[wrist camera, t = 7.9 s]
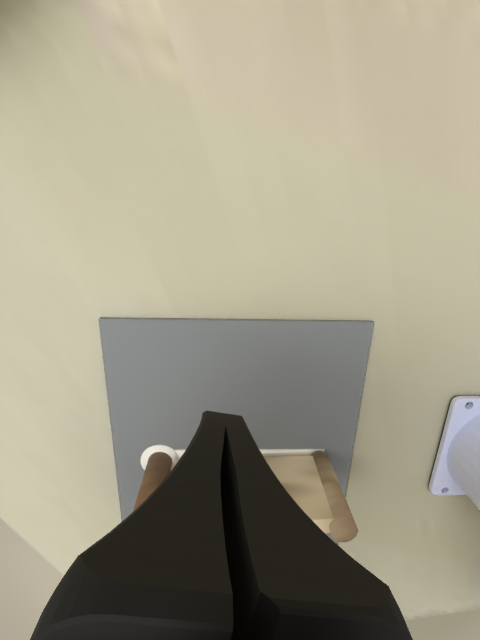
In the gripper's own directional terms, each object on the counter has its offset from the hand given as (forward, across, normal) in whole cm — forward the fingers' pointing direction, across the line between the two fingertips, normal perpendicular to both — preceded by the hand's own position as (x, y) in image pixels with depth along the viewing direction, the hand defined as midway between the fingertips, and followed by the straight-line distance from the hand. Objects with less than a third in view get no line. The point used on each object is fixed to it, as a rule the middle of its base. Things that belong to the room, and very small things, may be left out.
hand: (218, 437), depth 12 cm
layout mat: (+9, -2, +8) cm, 13 cm away
